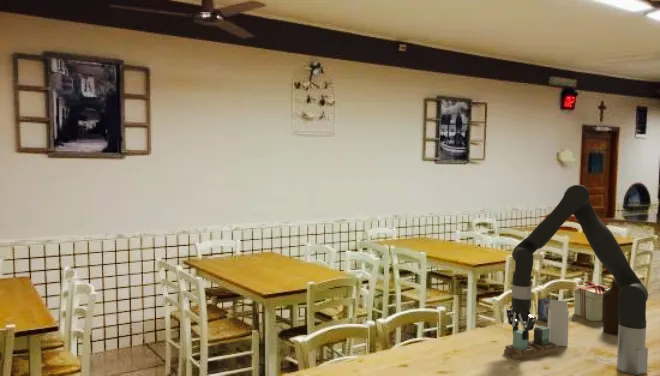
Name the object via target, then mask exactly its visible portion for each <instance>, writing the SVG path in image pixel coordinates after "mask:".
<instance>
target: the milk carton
mask: <svg viewBox="0 0 660 376" xmlns="http://www.w3.org/2000/svg"><path fill="white" fill-rule="evenodd" d="M569 313H570V311H569V306H568V300H557V299H553V300H550V303H549V306H548V322H547V328H550V330H549V342H552V343H554V344H557V347H566V348H567V347H569V345H568V344H569V320H570V319H569V317H570V314H569Z"/></svg>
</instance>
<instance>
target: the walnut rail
mask: <svg viewBox="0 0 660 376" xmlns="http://www.w3.org/2000/svg"><path fill="white" fill-rule="evenodd" d="M549 330H550V328H548V326H544V325H538V326H535V327H534V328H533V339H532V340H529V348H527V349H526V350H521V351H520V350H518V349H515V348H513V343H512V344H508V345H505V349H504V350H503V355H505V356H507V357H510V358H512V359H514V360H516V361H524V359H525V360H528V359H532V358H538V357H542V356H543V357H544V356H548V355H552V353H553V354H556V353H557V352H558V353H559V347H558V346H557V344H554V343H552V342H549ZM558 353H557V354H558Z"/></svg>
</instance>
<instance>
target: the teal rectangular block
mask: <svg viewBox="0 0 660 376" xmlns="http://www.w3.org/2000/svg"><path fill="white" fill-rule="evenodd" d="M512 335H513V336H512V344H513V348H515V349H518V350H520V351H521V350H526V349H527V348H529V342H530V340H529V339H530V333H529V334H528V339H527V340H523V339H522V337H523V329H518V330H515V331H513V330H512Z"/></svg>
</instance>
